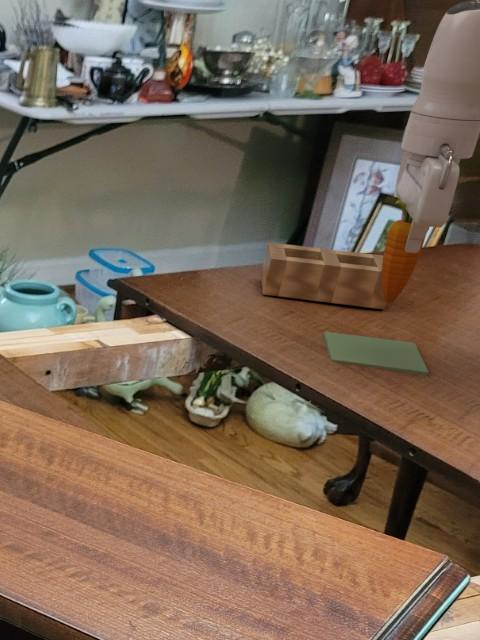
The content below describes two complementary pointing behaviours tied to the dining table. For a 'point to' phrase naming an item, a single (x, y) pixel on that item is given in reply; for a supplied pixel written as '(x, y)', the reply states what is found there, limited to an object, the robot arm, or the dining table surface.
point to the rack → (323, 275)
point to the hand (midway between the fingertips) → (407, 245)
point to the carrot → (398, 258)
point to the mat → (375, 353)
